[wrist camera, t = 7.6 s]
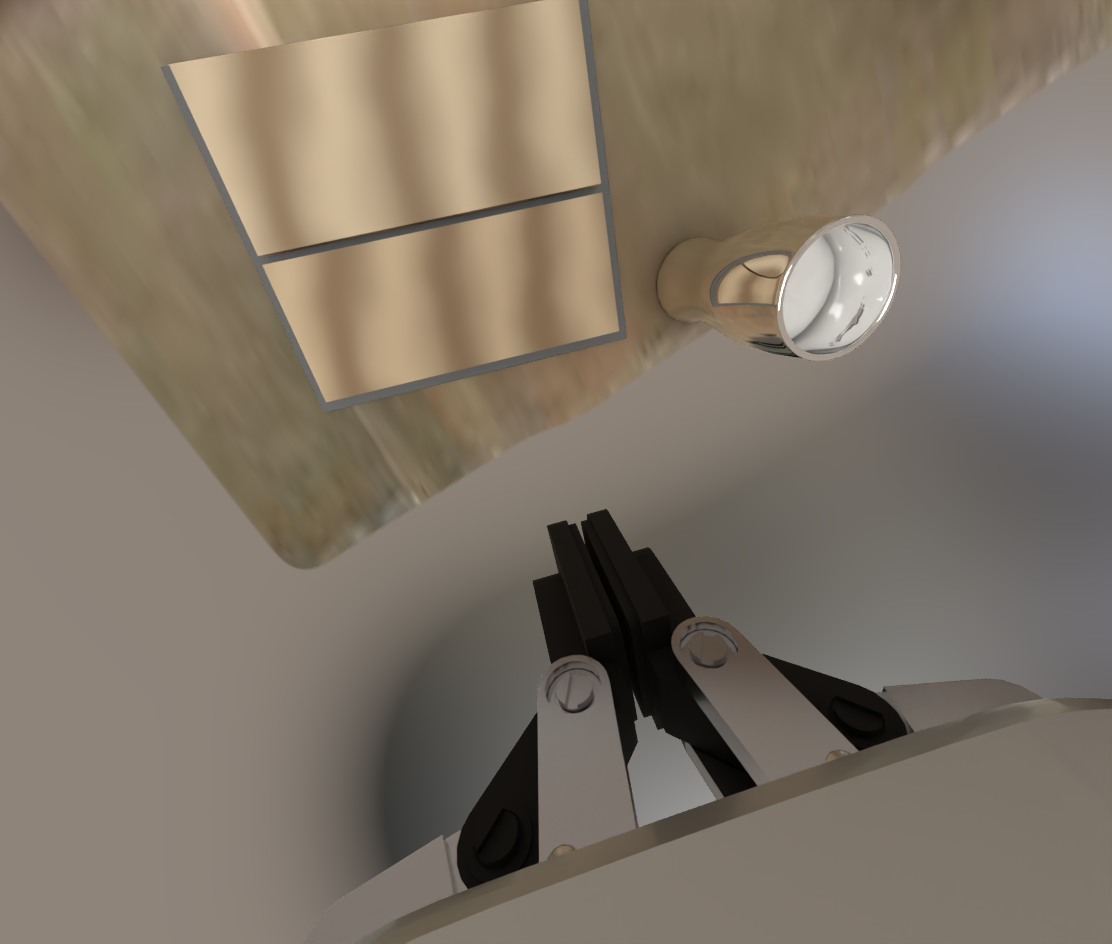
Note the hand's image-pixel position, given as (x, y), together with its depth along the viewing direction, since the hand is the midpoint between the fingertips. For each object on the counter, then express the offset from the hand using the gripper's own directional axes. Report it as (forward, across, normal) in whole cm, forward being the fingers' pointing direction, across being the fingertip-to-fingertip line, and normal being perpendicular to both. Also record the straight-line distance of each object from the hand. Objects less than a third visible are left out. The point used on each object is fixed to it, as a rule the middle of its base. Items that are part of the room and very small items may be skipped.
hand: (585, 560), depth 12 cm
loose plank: (+25, +2, -6) cm, 25 cm away
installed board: (+25, +2, -15) cm, 29 cm away
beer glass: (+25, -16, -3) cm, 30 cm away
